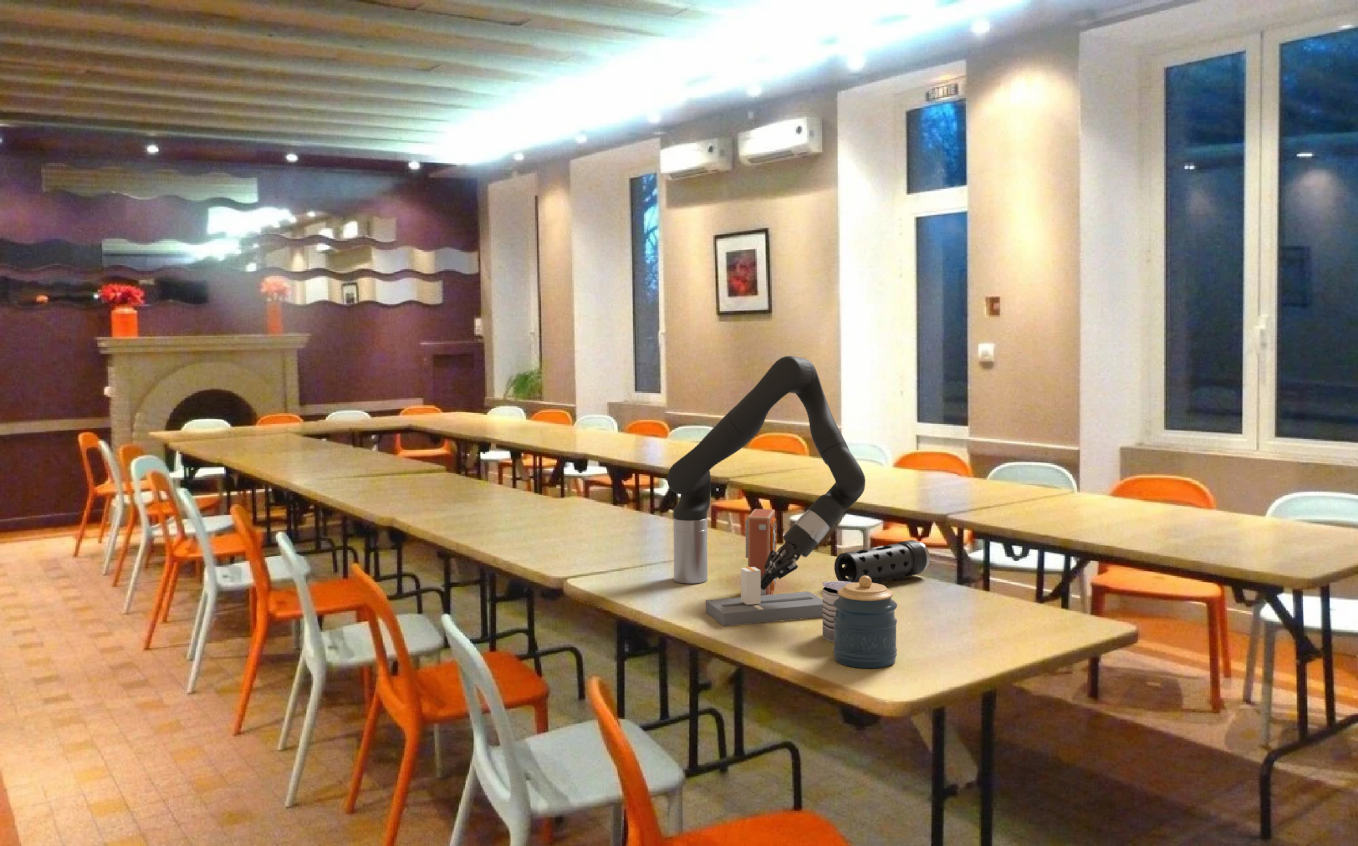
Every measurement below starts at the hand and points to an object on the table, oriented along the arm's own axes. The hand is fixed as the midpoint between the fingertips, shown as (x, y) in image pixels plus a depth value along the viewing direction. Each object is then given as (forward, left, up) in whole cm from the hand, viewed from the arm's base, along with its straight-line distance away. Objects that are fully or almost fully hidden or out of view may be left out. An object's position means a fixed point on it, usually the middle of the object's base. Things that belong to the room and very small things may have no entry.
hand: (759, 587), depth 260 cm
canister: (+40, +8, -7) cm, 41 cm away
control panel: (-18, +8, -7) cm, 21 cm away
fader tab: (0, -2, -3) cm, 4 cm away
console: (0, +2, -7) cm, 7 cm away
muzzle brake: (-20, +44, -7) cm, 48 cm away
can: (+24, +12, -7) cm, 28 cm away
